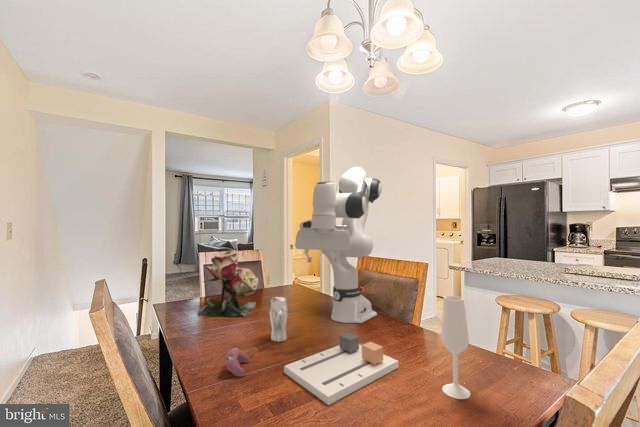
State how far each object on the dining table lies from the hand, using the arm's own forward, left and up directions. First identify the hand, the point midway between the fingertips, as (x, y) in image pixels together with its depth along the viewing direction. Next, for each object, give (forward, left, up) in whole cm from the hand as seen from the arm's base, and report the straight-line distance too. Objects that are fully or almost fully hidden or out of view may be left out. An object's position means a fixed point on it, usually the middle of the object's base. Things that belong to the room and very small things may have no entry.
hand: (322, 262), depth 105 cm
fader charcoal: (-1, +12, -28) cm, 30 cm away
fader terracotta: (-1, +22, -28) cm, 35 cm away
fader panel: (+7, +17, -30) cm, 35 cm away
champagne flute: (-8, +44, -30) cm, 54 cm away
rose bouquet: (+7, -65, -30) cm, 72 cm away
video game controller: (+31, -4, -30) cm, 43 cm away
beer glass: (+9, -16, -30) cm, 35 cm away
